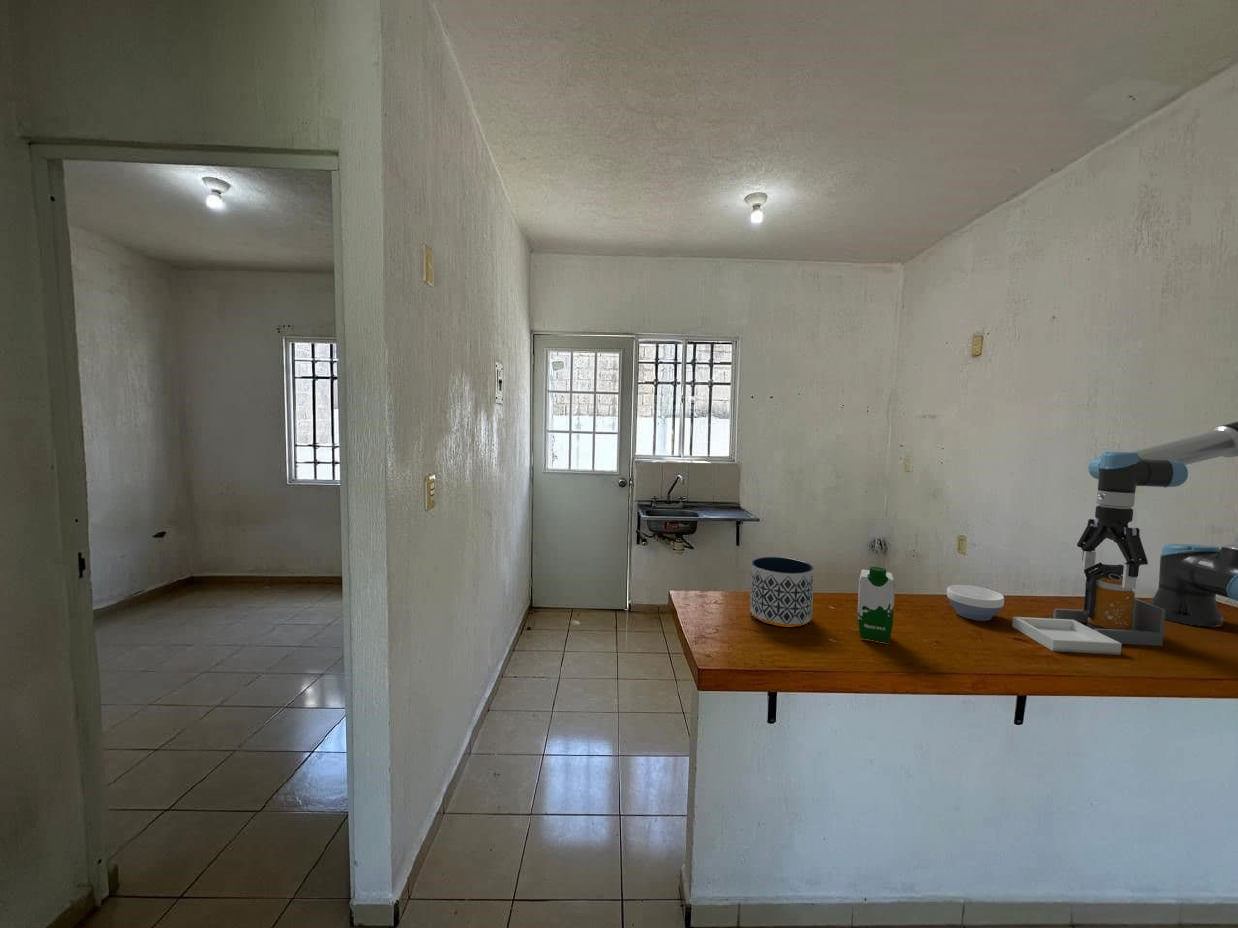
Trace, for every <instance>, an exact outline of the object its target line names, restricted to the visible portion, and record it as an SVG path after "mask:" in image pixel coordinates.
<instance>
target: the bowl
mask: <svg viewBox="0 0 1238 928" xmlns="http://www.w3.org/2000/svg"><path fill="white" fill-rule="evenodd" d="M946 595H947V598H948V600H949V602H950V604H951V606H952V608H953V609H955V612H956V614H957V615H959V616H961V617H962V618H965V619H967V620H971V619H972V621H977V622H987V621H991V620H992V619H993V617H995V616H996V615H998V613H999V612H1000V611H1001V610H1002V608H1003V607H1004V604H1005V596H1004V595H1003V594H1002V593H999V592H998V591H995V590H992V589H989V588H985V587H980V586H974V585H965V584H955V585H949V586H948V587H947V588H946Z"/></svg>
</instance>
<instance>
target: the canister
mask: <svg viewBox="0 0 1238 928" xmlns="http://www.w3.org/2000/svg"><path fill="white" fill-rule="evenodd" d="M1092 570H1093V571H1092ZM1090 571H1091V572H1090ZM1123 571H1124V564H1106V563H1104V564H1103V563H1102V562H1098V563H1095V565H1094V566H1091V567H1089V568H1087V569H1085V570H1084V572H1085V573H1084V575H1085V577H1086V578H1085V579H1086V580H1085V587H1084V588H1085V591H1084V602H1083V603H1084V604H1083V609H1082V610H1083V611H1082V612H1081V613H1083V614H1084V615H1086V616H1087V617H1088V623H1087V624H1086V625H1087V627H1089V628H1091V629H1093V630H1094V629H1095V628H1096V629H1117V630H1131V629H1132V620H1133V608H1134V598H1135V596H1136V595H1135V593H1136V592H1135V591H1134V590H1133V588H1123V587H1122V581H1123Z"/></svg>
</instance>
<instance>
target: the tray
mask: <svg viewBox="0 0 1238 928" xmlns="http://www.w3.org/2000/svg"><path fill="white" fill-rule="evenodd" d="M1012 628H1014V629H1015V630H1017V631H1019V632H1021V633H1022V634H1024V635H1025V636H1027V637H1029V638H1030V639H1032V640H1034V641H1035V642H1037V643H1039V644H1040V645H1042V646H1044V647H1046V648H1047V649H1048V650H1050V651H1052V652H1063V653H1065V652H1066V653H1079V654H1080V653H1084V654H1085V653H1086V654H1096V655H1097V654H1100V655H1101V654H1102V655H1114V656H1115V655H1117V656H1121V654H1122V645H1123V644H1122V643H1119V642H1117V641H1115V640H1113V639H1111V638H1109V637H1107V636H1105V635H1103V634H1101V633H1099V632H1097V631H1095V630H1093V629H1091V628H1089V627H1088V626H1086V625H1085V624H1083V623H1082V622H1077V621H1075V620H1070V619H1053V618H1050V617H1049V618H1047V617H1045V618H1043V617H1025V616H1024V617H1023V616H1012Z"/></svg>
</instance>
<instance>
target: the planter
mask: <svg viewBox="0 0 1238 928" xmlns="http://www.w3.org/2000/svg"><path fill="white" fill-rule="evenodd" d="M814 569H815V568H814V566H813V565H812V564H811V563H809V562H807V561H803V560H801V559H796V558H791V557H790V558H789V557H780V556H766V557H765V556H763V557H757V558H755V559H752V560H751V563H750V591H749V592H750V594H749V596H750V597H749V598H750V599H749V612H750V611H751V612H752V614H754V615H755V616H756V617H758V618H760V619H765V620H767V621H771V622H775V623H780V624H796V625H797V624H804V623H807V622H809V621H810V620H811V619H812V620H813V601H814V600H813V599H814V598H813V597H814V577H815V576H814Z"/></svg>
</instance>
